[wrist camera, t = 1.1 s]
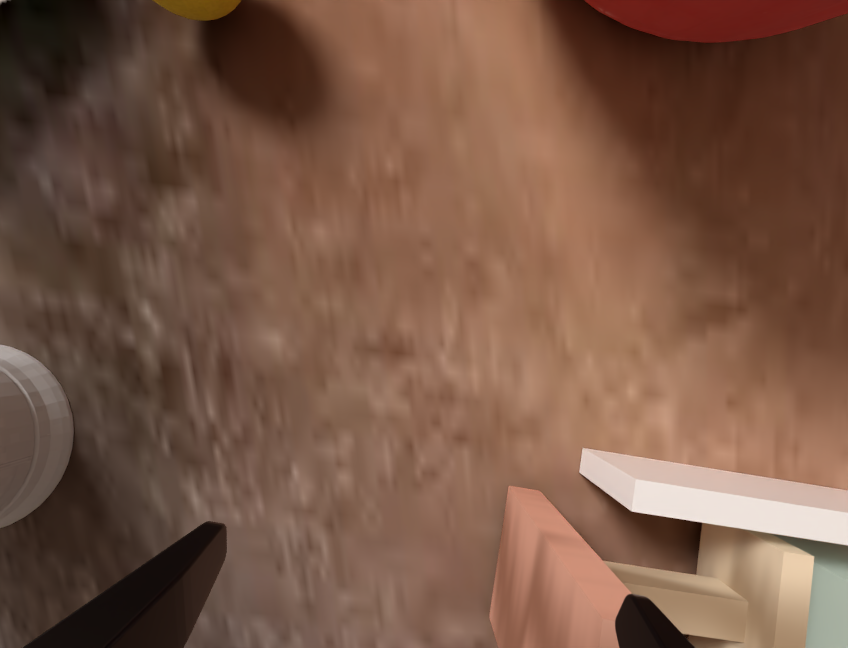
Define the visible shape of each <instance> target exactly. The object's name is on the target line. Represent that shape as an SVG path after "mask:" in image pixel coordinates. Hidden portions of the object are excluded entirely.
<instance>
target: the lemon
mask: <svg viewBox="0 0 848 648" xmlns="http://www.w3.org/2000/svg"><path fill="white" fill-rule="evenodd" d="M153 1H154V2H156V3H157V4H159V5H161V6H162V7H164V8H165V9H167V10H168V11H170V12H172V13H174V14H176V15H179V16H182V17H185V18H188V19H192V20H201V21H207V20H214V19H218V18H221V17H223V16H226V15H227V14H229V13H230V12H231V11H233V10H234V9H235V8H236V7H237V5H238V4H239V3H240V2H241V0H153Z"/></svg>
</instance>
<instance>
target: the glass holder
mask: <svg viewBox="0 0 848 648" xmlns="http://www.w3.org/2000/svg"><path fill="white" fill-rule="evenodd" d="M73 435H74V428H73V417H72V412H71V408H70V405H69V401H68V399H67V396H66V394H65V392H64V390H63V388H62V386H61V385H60V383H59V382H58V381H57V379H56V378H55V377H54V375H53V374H52V373H51V372H50V371H49V370H48V369H47V368H46V367H45V366H44V365H43V364H42V363H41V362H40V361H38V360H36V359H35V358H33V357H32V356H30V355H28V354H27V353H25V352H22V351H20V350H17V349H15V348H12V347H9V346H4V345H0V528H2V527H5V526H8V525H10V524H12V523H14V522H16V521H18V520H20V519H22V518H24V517H26V516H27V515H28V514H30V513H31V512H32V511H34V510H35V509H36V508H38V507H39V506H40V505H41V504H42V503H43V502H44V501H45V500H46V499H47V498H48V497H49V495H50V494H51V493H52V492H53V490H54V489H55V487H56V486H57V484H58V483H59V482H60V480H61V478H62V476H63V474H64V472H65V470H66V467H67V465H68V462H69V459H70V455H71V451H72V446H73Z"/></svg>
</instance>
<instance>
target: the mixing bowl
mask: <svg viewBox="0 0 848 648" xmlns="http://www.w3.org/2000/svg"><path fill="white" fill-rule="evenodd" d="M584 1H586V2H587V3H588V4H589V5H590V6H592V7H593V8H595V9H596V10H598V11H599V12H600V13H602V14H604V15H606V16H608V17H610V18H612V19H614V20H616V21H618V22H620V23H622V24H623V25H626V26H628V27H630V28H633V29H636V30H639V31H643V32H646V33H649V34H653V35H656V36H659V37H661V38H666V39H672V40H682V41H693V42H703V43H715V42H730V41H739V40H748V39H756V38H764V37H768V36H773V35H778V34H782V33H786V32H790V31H793V30H797V29H800V28H804V27H807V26H810V25H813V24H816V23H819V22H822V21H825V20H828V19H831V18H834V17H838V16H841V15H844V14H847V13H848V0H584Z"/></svg>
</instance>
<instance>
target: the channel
mask: <svg viewBox="0 0 848 648" xmlns="http://www.w3.org/2000/svg"><path fill="white" fill-rule="evenodd" d="M579 473H581V474H582V475H583V476H585V477H586V478H587V479H589V480H590V481H591V482H593V483H594V484H595V485H597V486H598V487H599V488H601V489H602V490H603V491H605V492H606V493H607V494H609V495H610V496H611V497H613V498H614V499H615V500H617V501H618V502H619V503H621V504H622V505H623V506H625V507H626V508H627V509H629V510H630V511H632V512H638V513H644V514H651V515H657V516H663V517H670V518H676V519H683V520H689V521H695V522H702V523H708V524H715V525H721V526H727V527H734V528H740V529H746V530H753V531H759V532H766V533H772V534H778V535H785V536H791V537H798V538H804V539H810V540H817V541H823V542H829V543H836V544H842V545H848V490H842V489H836V488H830V487H824V486H817V485H811V484H805V483H799V482H792V481H786V480H780V479H774V478H768V477H761V476H755V475H749V474H743V473H736V472H730V471H724V470H718V469H712V468H705V467H699V466H693V465H687V464H680V463H674V462H668V461H662V460H655V459H649V458H643V457H637V456H631V455H624V454H618V453H612V452H606V451H599V450H593V449H587V448H583V449H582V457H581V464H580V471H579Z"/></svg>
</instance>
